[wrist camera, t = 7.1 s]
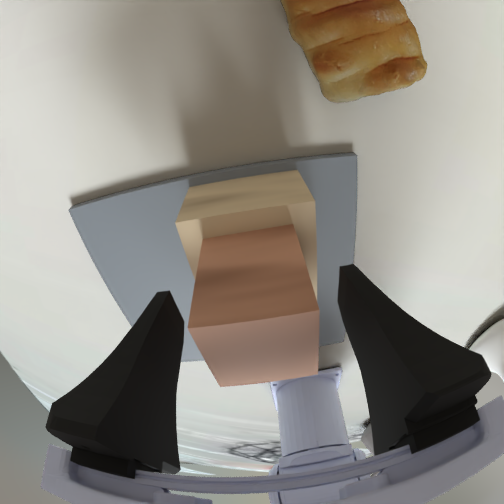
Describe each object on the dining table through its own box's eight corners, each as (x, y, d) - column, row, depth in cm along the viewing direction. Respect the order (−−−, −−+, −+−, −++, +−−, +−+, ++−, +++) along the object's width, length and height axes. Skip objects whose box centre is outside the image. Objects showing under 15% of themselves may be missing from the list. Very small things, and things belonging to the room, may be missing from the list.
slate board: (341, 336, 24) (343, 341, 24) (157, 357, 26) (157, 362, 25) (353, 152, 15) (357, 155, 14) (72, 205, 16) (68, 210, 15)
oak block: (304, 257, 18) (316, 301, 15) (213, 270, 18) (208, 316, 15) (297, 169, 15) (315, 200, 11) (189, 187, 15) (174, 222, 12)
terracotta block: (299, 290, 14) (317, 374, 10) (223, 302, 15) (220, 386, 11) (293, 223, 12) (319, 309, 8) (202, 239, 12) (187, 328, 8)
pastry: (239, -26, 9) (239, -55, 5) (344, -55, 7) (370, -79, 4) (325, 110, 13) (351, 121, 10) (417, 73, 12) (457, 79, 9)
